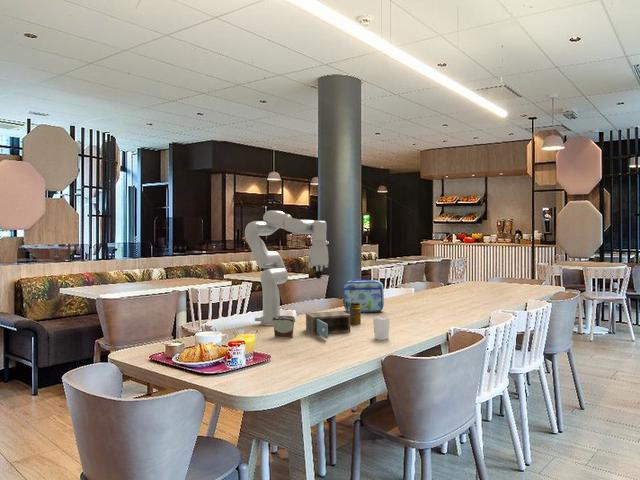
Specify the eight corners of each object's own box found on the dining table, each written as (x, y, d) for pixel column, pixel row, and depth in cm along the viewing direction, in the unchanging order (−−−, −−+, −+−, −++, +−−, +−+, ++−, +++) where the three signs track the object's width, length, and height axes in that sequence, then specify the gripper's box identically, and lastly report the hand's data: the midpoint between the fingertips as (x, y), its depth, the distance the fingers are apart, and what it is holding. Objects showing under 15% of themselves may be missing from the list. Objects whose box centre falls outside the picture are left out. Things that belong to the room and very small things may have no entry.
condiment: (363, 324, 293) (363, 302, 293) (351, 325, 288) (351, 304, 288) (356, 322, 299) (355, 301, 299) (344, 323, 294) (343, 302, 294)
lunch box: (342, 312, 335) (341, 279, 334) (345, 309, 345) (344, 278, 345) (382, 313, 329) (382, 280, 328) (384, 310, 339) (384, 278, 339)
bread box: (313, 334, 264) (313, 317, 264) (306, 329, 278) (305, 313, 278) (350, 332, 270) (350, 314, 270) (341, 327, 284) (341, 310, 283)
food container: (299, 335, 263) (299, 316, 262) (294, 338, 257) (294, 318, 257) (276, 334, 267) (276, 314, 266) (271, 336, 261) (271, 316, 261)
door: (314, 332, 264) (314, 319, 264) (318, 332, 265) (317, 318, 265) (324, 339, 249) (323, 324, 249) (327, 338, 250) (327, 324, 250)
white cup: (379, 340, 249) (379, 319, 248) (370, 337, 256) (370, 317, 255) (392, 339, 252) (392, 318, 252) (383, 336, 259) (383, 316, 259)
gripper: (329, 243, 283) (328, 277, 284) (303, 243, 278) (302, 277, 278) (334, 244, 276) (333, 279, 277) (308, 244, 271) (307, 279, 271)
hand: (318, 278), depth 277 cm, fingers closed
